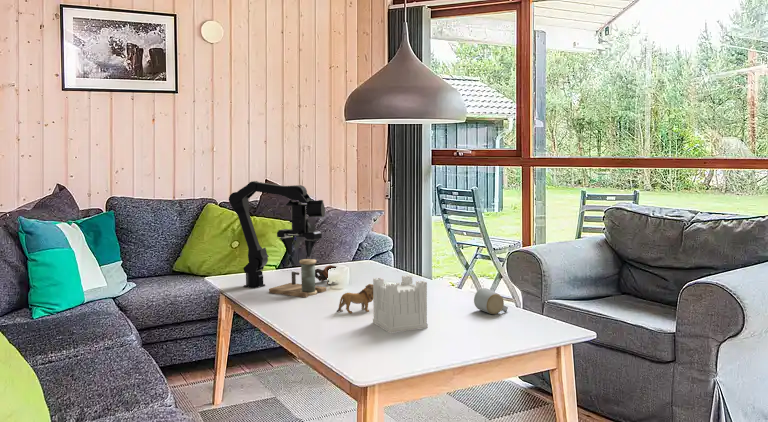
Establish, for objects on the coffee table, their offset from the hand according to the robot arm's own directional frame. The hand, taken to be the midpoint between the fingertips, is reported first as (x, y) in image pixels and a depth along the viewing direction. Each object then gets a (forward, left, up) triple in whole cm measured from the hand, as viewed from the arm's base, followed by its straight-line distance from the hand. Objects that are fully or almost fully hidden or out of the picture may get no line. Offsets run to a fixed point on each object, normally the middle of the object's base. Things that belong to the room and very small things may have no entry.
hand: (299, 255), depth 264 cm
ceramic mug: (+82, +1, -13) cm, 83 cm away
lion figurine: (+42, -21, -13) cm, 48 cm away
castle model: (+64, -29, -13) cm, 72 cm away
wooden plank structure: (+4, -7, -13) cm, 15 cm away
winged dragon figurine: (+4, +13, -13) cm, 19 cm away
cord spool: (+10, -7, -13) cm, 18 cm away
